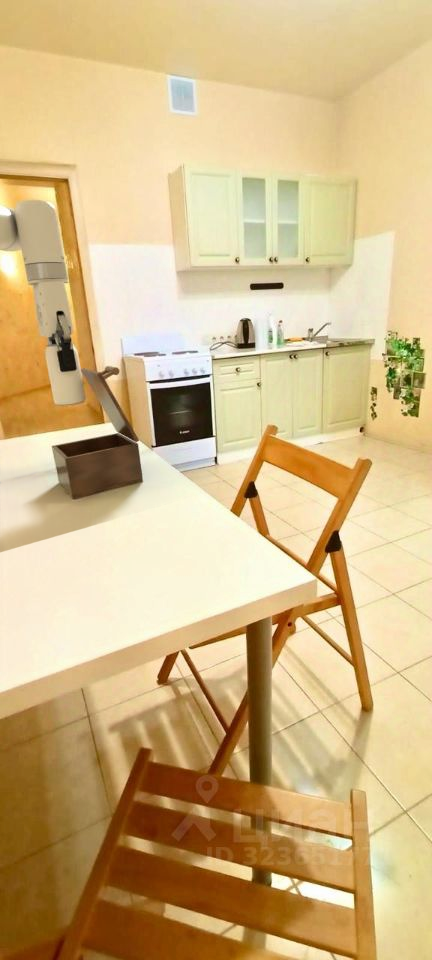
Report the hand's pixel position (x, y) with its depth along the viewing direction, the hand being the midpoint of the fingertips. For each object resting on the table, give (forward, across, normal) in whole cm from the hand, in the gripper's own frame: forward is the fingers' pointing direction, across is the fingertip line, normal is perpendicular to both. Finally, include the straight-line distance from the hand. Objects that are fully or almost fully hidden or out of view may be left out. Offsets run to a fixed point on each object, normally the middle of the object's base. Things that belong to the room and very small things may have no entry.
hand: (64, 369), depth 93 cm
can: (+7, 0, 0) cm, 7 cm away
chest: (+25, +2, +3) cm, 26 cm away
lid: (+8, +3, +7) cm, 11 cm away
